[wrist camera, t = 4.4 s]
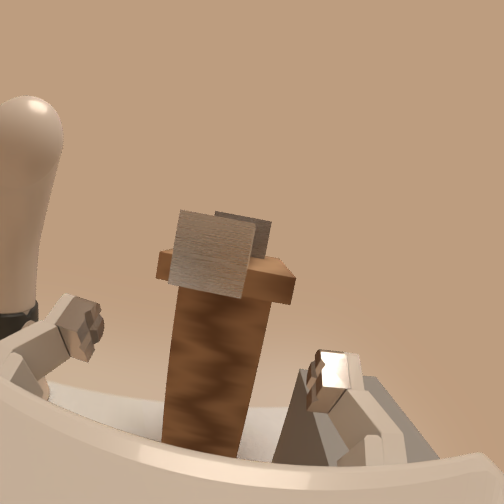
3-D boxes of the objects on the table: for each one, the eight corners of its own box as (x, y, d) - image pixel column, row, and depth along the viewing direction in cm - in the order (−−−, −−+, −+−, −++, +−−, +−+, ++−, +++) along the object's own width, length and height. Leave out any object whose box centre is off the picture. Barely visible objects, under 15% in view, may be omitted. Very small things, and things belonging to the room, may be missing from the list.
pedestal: (264, 596, 13) (336, 489, 12) (262, 487, 29) (299, 368, 28) (352, 590, 13) (453, 476, 12) (326, 491, 29) (375, 376, 28)
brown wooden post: (142, 493, 24) (159, 251, 22) (173, 420, 40) (198, 243, 38) (235, 514, 24) (296, 278, 22) (241, 434, 40) (279, 258, 38)
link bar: (134, 276, 12) (150, 179, 12) (214, 246, 38) (220, 213, 38) (278, 305, 12) (297, 205, 12) (263, 255, 38) (269, 223, 38)
